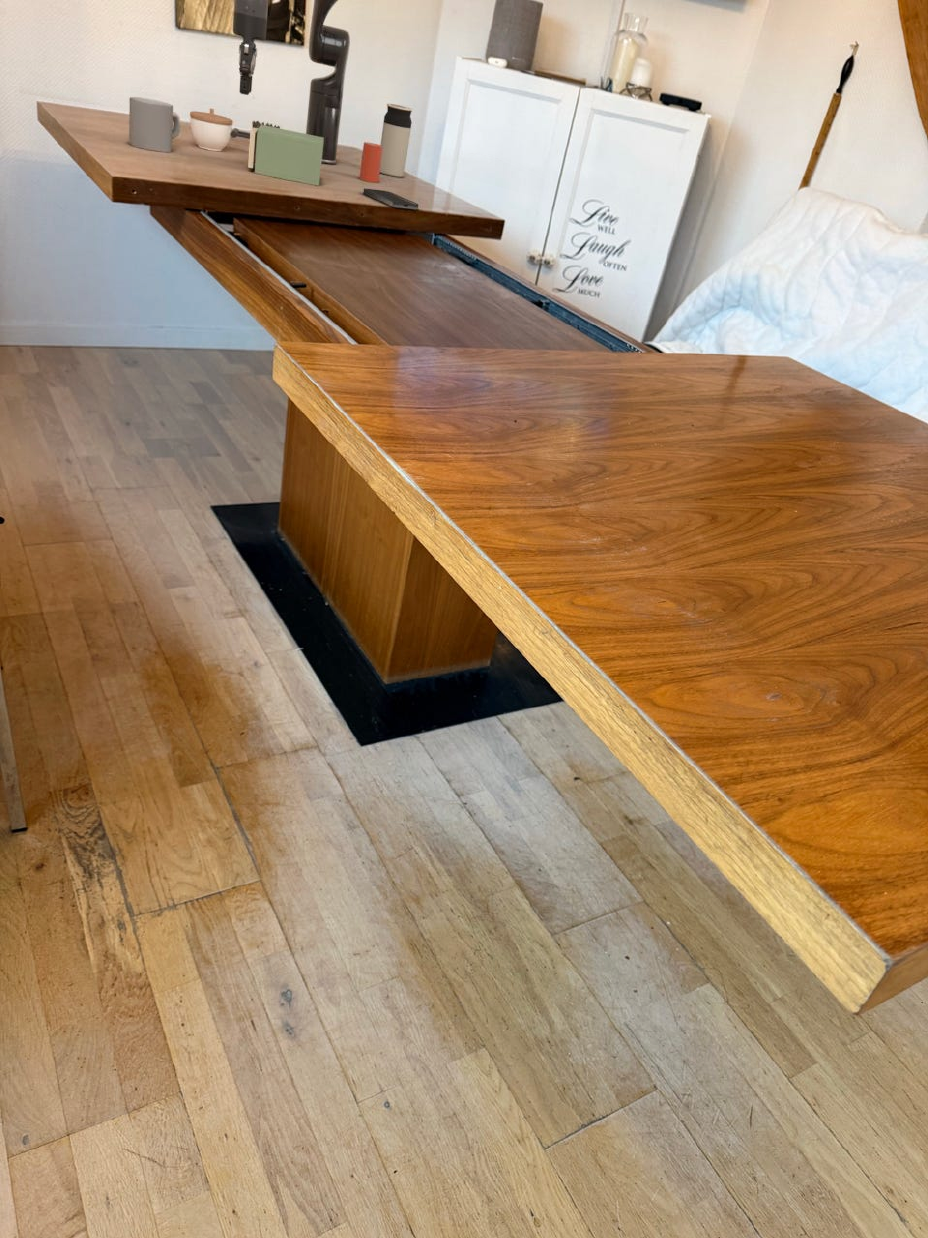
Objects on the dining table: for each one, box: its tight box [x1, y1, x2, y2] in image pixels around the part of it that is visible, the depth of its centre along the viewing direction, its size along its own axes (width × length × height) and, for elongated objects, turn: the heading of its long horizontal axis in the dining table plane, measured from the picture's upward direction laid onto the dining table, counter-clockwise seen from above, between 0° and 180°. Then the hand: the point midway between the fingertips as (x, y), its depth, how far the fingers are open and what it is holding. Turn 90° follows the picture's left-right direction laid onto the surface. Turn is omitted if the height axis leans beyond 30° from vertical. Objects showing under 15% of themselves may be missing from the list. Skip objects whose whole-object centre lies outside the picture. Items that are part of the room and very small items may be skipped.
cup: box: [251, 120, 281, 129], centre depth 250 cm, size 8×7×8 cm
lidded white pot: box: [189, 108, 234, 152], centre depth 241 cm, size 11×11×9 cm
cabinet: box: [254, 124, 324, 187], centre depth 228 cm, size 16×13×10 cm
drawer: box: [230, 127, 258, 169], centre depth 227 cm, size 19×11×8 cm, turn 97°
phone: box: [362, 188, 419, 211], centre depth 227 cm, size 8×1×15 cm
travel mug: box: [379, 103, 413, 178], centre depth 267 cm, size 8×8×18 cm
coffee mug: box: [128, 96, 181, 153], centre depth 224 cm, size 13×10×10 cm
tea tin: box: [359, 141, 383, 184], centre depth 250 cm, size 5×5×9 cm
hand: (245, 92), depth 220 cm, fingers open, 8 cm apart
